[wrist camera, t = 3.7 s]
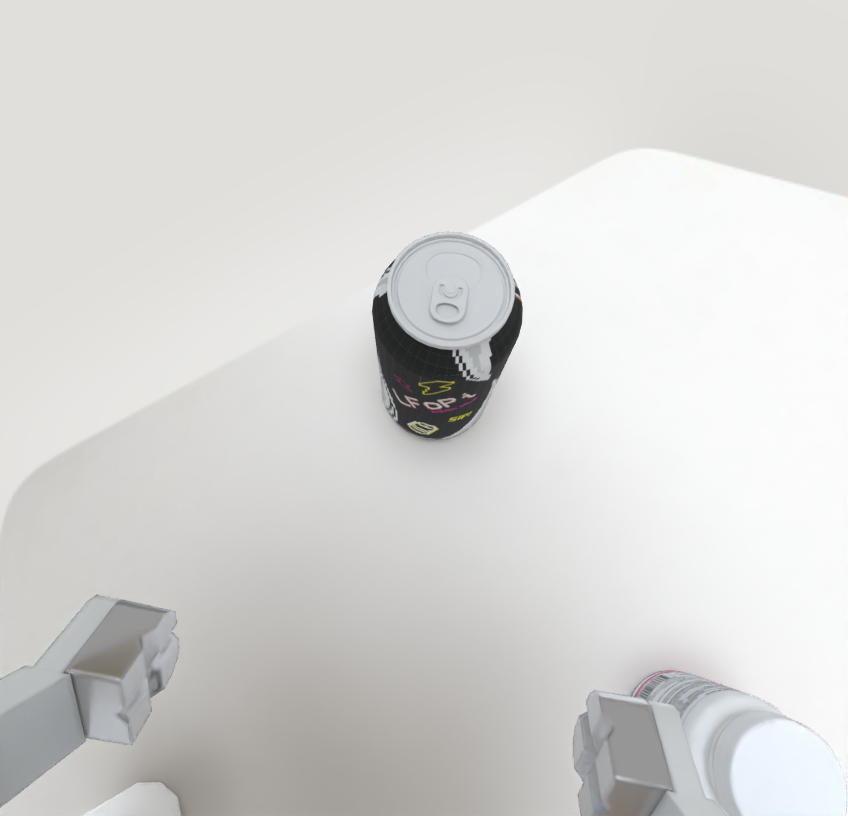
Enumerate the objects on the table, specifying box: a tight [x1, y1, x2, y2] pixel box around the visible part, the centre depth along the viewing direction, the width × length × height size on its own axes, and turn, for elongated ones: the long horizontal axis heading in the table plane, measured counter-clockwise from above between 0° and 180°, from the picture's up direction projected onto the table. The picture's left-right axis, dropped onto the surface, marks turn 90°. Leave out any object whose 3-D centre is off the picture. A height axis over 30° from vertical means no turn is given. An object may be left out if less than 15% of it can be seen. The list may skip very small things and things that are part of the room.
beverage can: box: [372, 232, 523, 440], centre depth 25 cm, size 6×6×12 cm
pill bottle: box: [632, 671, 848, 816], centre depth 23 cm, size 5×5×8 cm
